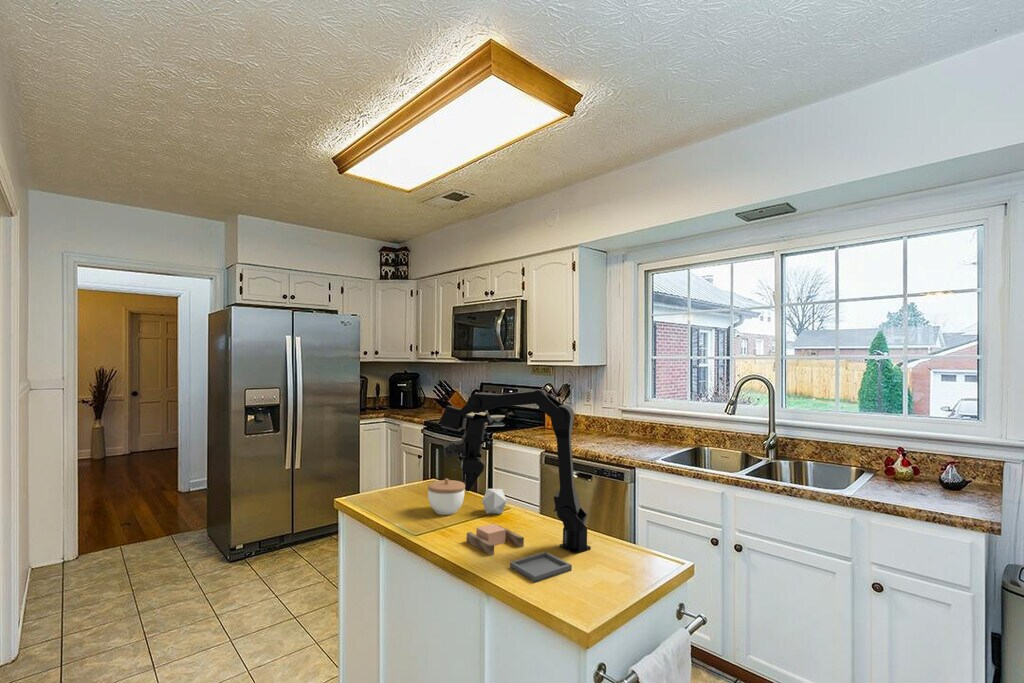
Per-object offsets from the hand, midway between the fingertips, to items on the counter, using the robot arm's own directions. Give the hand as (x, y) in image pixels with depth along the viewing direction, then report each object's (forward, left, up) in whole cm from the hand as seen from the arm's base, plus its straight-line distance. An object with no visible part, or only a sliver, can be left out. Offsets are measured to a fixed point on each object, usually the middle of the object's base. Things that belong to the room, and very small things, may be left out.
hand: (465, 485), depth 151 cm
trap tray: (-31, -3, -14) cm, 35 cm away
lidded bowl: (+22, -6, -15) cm, 27 cm away
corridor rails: (-11, -3, -14) cm, 18 cm away
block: (-9, -3, -15) cm, 18 cm away
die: (+12, -19, -15) cm, 27 cm away
